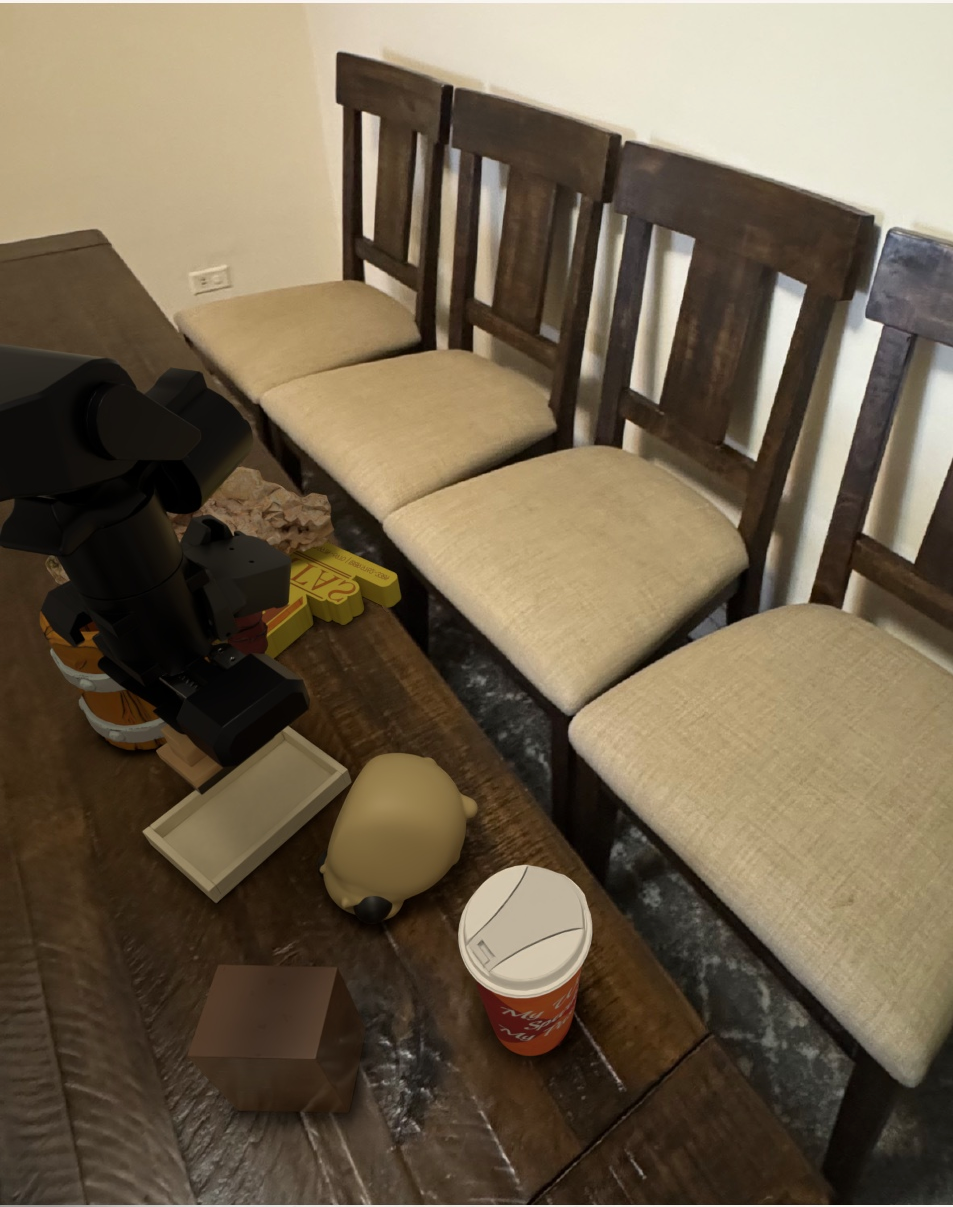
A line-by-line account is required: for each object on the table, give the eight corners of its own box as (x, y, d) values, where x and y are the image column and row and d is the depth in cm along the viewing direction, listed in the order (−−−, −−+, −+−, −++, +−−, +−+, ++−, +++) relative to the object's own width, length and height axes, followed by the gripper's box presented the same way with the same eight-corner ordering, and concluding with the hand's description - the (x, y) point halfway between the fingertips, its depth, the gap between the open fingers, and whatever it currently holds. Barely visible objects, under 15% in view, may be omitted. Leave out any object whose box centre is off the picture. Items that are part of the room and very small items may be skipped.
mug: (94, 676, 76) (19, 552, 66) (280, 636, 81) (238, 514, 70) (85, 769, 69) (-1, 646, 59) (290, 719, 73) (244, 597, 63)
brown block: (237, 1110, 52) (186, 1056, 45) (261, 1026, 55) (217, 963, 48) (349, 1113, 52) (315, 1059, 45) (366, 1028, 55) (337, 966, 49)
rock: (341, 549, 89) (297, 410, 84) (351, 565, 82) (304, 416, 77) (82, 623, 81) (14, 475, 75) (70, 648, 74) (-5, 487, 69)
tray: (216, 903, 61) (208, 891, 60) (150, 844, 65) (141, 831, 63) (352, 782, 69) (347, 769, 68) (287, 734, 73) (282, 721, 71)
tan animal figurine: (374, 849, 69) (261, 863, 60) (440, 729, 67) (334, 725, 58) (442, 933, 64) (329, 962, 55) (517, 806, 62) (412, 815, 53)
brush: (201, 797, 56) (180, 759, 53) (164, 765, 57) (141, 727, 54) (277, 737, 59) (261, 698, 56) (240, 709, 61) (222, 670, 58)
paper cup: (521, 1101, 53) (510, 1019, 43) (453, 1005, 57) (429, 911, 47) (613, 1017, 56) (622, 924, 47) (543, 933, 60) (538, 831, 51)
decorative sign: (261, 530, 92) (148, 610, 83) (254, 509, 90) (137, 589, 81) (404, 596, 86) (298, 692, 76) (400, 575, 84) (290, 671, 74)
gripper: (354, 557, 47) (394, 725, 58) (159, 442, 55) (227, 610, 65) (180, 675, 40) (262, 840, 51) (-15, 527, 48) (93, 698, 59)
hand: (212, 734), depth 57 cm, fingers closed on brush, 2 cm apart
